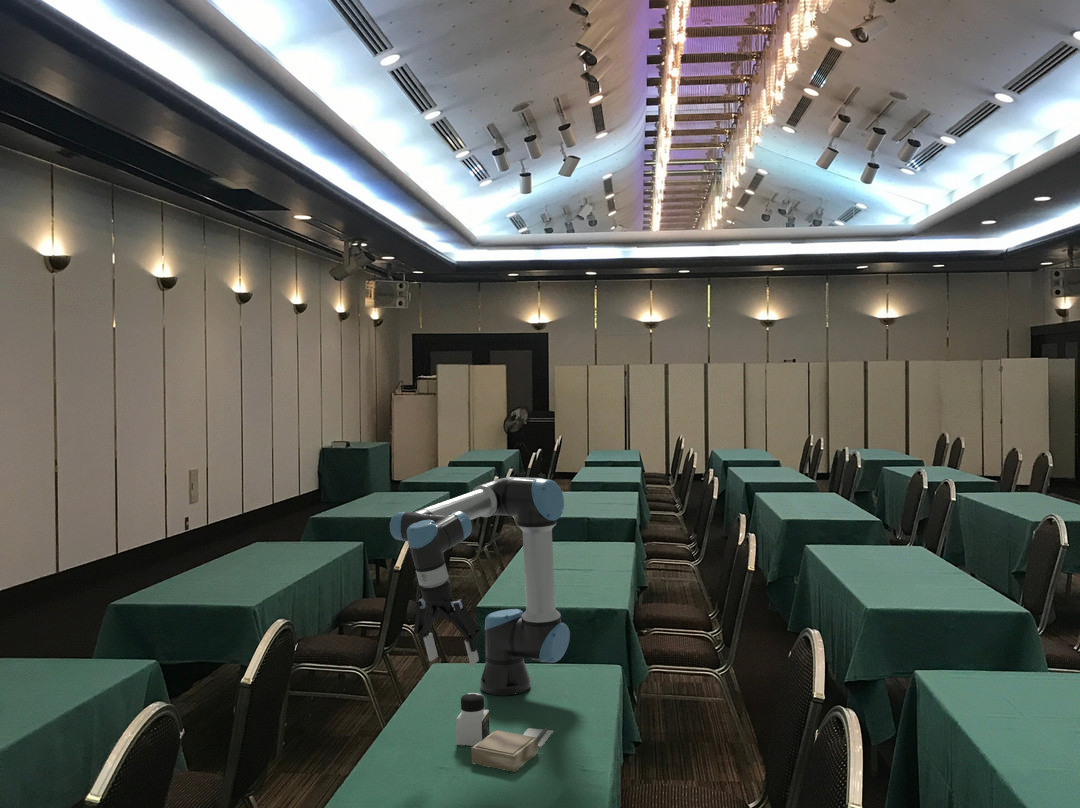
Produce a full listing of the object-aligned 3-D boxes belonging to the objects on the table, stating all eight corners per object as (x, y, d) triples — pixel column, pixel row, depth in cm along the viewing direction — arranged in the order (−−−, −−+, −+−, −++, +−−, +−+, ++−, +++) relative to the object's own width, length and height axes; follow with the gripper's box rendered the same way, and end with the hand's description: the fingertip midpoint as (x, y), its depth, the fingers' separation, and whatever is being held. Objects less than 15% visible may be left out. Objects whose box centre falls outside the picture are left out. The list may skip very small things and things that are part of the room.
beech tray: (496, 745, 235) (496, 729, 235) (537, 753, 229) (537, 736, 229) (471, 763, 224) (471, 746, 224) (514, 772, 219) (514, 755, 218)
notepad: (528, 731, 244) (528, 724, 244) (553, 734, 242) (553, 727, 242) (516, 746, 235) (516, 739, 235) (542, 749, 233) (541, 742, 233)
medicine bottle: (483, 747, 234) (481, 701, 233) (456, 745, 235) (455, 699, 235) (490, 736, 241) (488, 691, 240) (464, 734, 242) (462, 689, 242)
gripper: (388, 587, 231) (407, 664, 234) (463, 590, 217) (483, 671, 220) (407, 575, 237) (426, 650, 241) (482, 577, 223) (501, 657, 226)
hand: (453, 660), depth 230 cm, fingers open, 13 cm apart
